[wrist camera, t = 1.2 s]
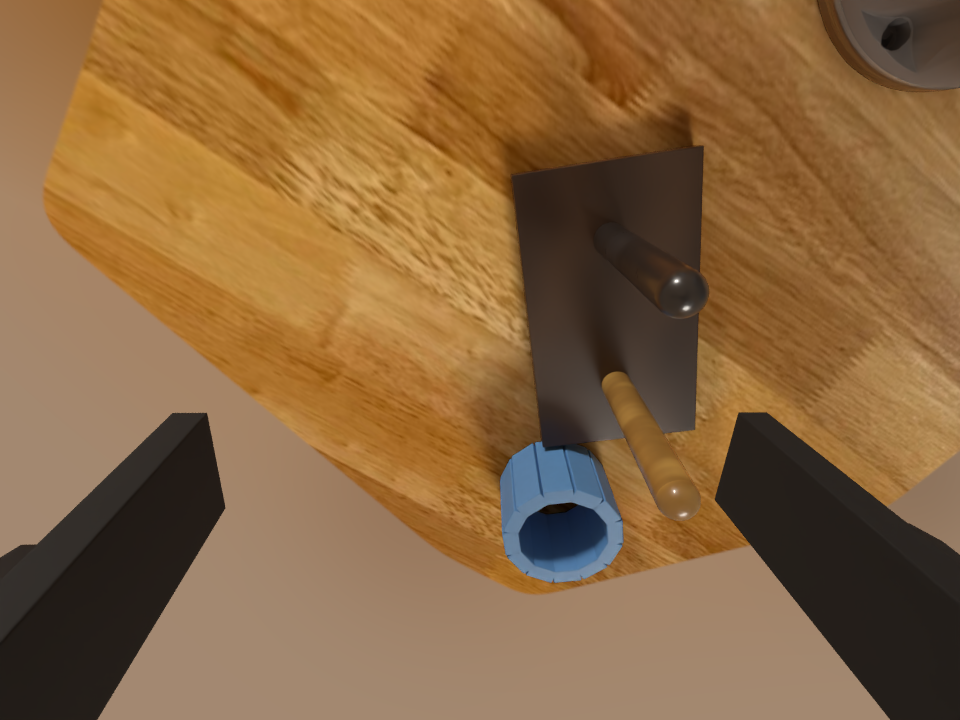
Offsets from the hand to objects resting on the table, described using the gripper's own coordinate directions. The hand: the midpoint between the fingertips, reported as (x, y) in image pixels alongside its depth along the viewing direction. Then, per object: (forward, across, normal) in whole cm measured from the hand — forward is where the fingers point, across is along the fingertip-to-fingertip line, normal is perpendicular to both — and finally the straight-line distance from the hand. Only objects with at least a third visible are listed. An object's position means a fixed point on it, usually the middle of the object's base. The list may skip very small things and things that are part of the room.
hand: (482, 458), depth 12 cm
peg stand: (+21, +10, -2) cm, 23 cm away
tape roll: (+21, +8, -17) cm, 28 cm away
